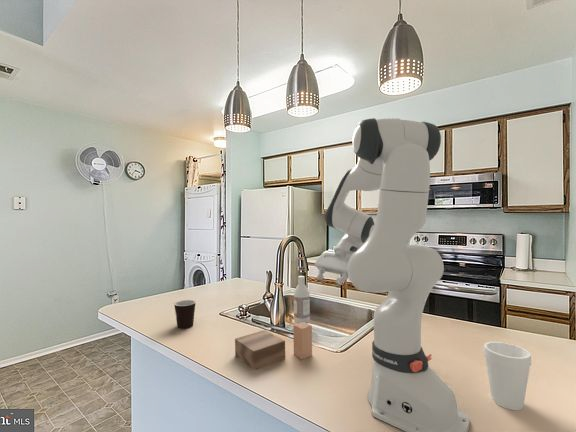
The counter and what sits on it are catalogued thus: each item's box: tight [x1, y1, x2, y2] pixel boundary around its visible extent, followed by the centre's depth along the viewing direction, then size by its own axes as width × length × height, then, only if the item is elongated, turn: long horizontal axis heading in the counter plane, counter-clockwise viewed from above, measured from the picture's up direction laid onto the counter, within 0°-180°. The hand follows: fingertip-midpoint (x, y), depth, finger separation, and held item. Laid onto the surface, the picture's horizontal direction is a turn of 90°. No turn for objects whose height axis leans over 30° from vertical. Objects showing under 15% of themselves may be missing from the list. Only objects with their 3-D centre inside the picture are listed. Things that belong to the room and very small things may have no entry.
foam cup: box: [483, 340, 532, 411], centre depth 74 cm, size 10×9×13 cm
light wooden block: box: [292, 322, 313, 360], centre depth 100 cm, size 4×4×10 cm
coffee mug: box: [174, 299, 196, 330], centre depth 129 cm, size 12×9×10 cm
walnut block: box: [234, 329, 286, 371], centre depth 99 cm, size 12×12×6 cm
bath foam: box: [293, 275, 311, 324], centre depth 131 cm, size 7×7×20 cm
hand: (327, 281), depth 108 cm, fingers open, 8 cm apart
